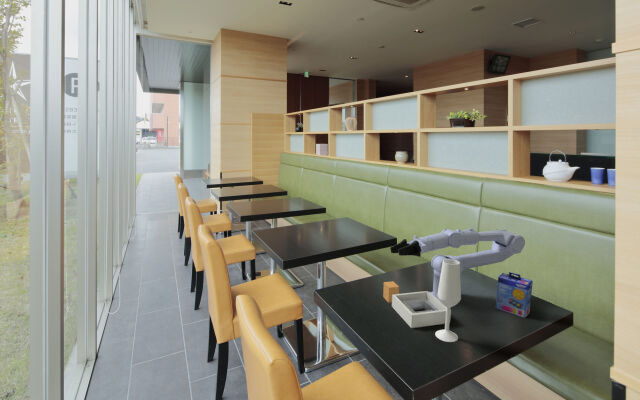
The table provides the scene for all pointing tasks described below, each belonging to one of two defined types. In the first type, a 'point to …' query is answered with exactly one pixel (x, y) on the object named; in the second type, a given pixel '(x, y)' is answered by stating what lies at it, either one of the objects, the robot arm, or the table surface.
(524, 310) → the ink cartridge box
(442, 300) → the champagne flute
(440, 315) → the walled box
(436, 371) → the table surface
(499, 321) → the table surface
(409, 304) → the inlet socket
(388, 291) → the light brown rectangular block
